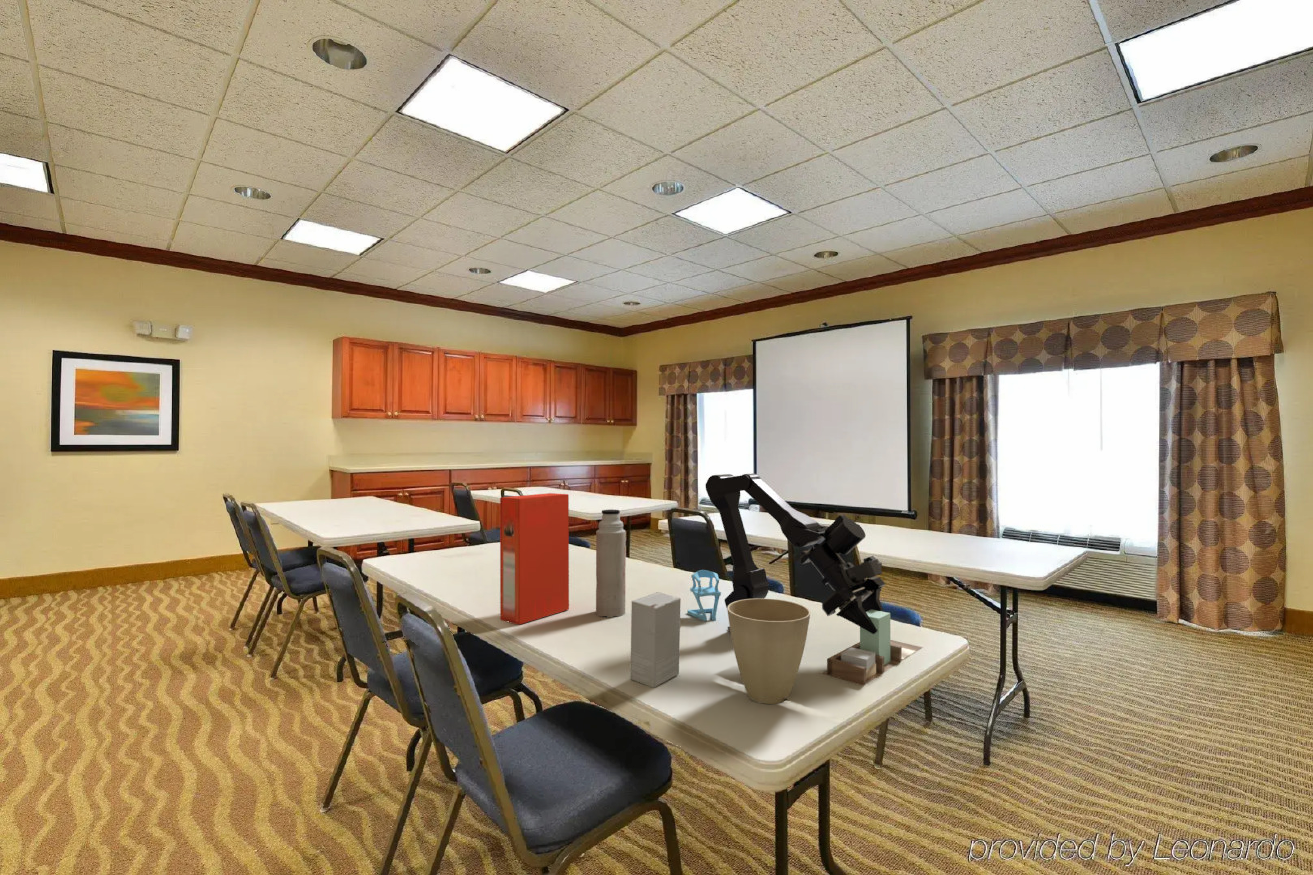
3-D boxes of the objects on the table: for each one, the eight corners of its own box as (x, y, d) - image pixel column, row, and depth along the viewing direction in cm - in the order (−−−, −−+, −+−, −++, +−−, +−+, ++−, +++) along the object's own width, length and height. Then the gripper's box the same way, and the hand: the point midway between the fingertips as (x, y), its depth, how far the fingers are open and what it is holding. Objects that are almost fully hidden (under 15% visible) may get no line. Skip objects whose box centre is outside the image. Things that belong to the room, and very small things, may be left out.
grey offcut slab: (866, 670, 115) (866, 659, 115) (841, 664, 118) (841, 653, 118) (875, 662, 119) (875, 652, 119) (850, 657, 122) (850, 647, 122)
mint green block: (878, 668, 121) (878, 618, 121) (860, 663, 124) (860, 614, 124) (890, 661, 125) (890, 613, 125) (871, 656, 128) (871, 609, 128)
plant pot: (713, 701, 108) (713, 612, 108) (746, 674, 120) (746, 594, 121) (794, 722, 100) (794, 625, 100) (820, 690, 113) (820, 605, 113)
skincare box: (655, 667, 124) (655, 590, 124) (683, 676, 119) (683, 596, 120) (627, 680, 117) (627, 598, 118) (655, 689, 113) (656, 604, 113)
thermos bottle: (626, 609, 168) (626, 508, 168) (624, 617, 160) (624, 511, 160) (597, 608, 168) (598, 508, 168) (594, 617, 160) (594, 511, 160)
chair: (696, 622, 156) (696, 575, 156) (686, 613, 164) (687, 569, 164) (724, 620, 158) (724, 574, 158) (713, 611, 166) (714, 567, 166)
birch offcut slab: (864, 680, 115) (864, 670, 115) (840, 673, 118) (840, 663, 118) (876, 673, 118) (876, 663, 118) (852, 666, 122) (852, 656, 122)
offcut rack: (863, 690, 113) (863, 669, 113) (821, 678, 119) (821, 657, 119) (922, 651, 134) (922, 633, 134) (885, 642, 140) (885, 625, 140)
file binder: (499, 619, 157) (500, 497, 158) (548, 605, 171) (549, 492, 172) (520, 625, 153) (520, 498, 153) (568, 610, 166) (569, 494, 167)
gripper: (835, 550, 121) (890, 616, 113) (876, 539, 134) (927, 598, 126) (801, 583, 126) (850, 648, 118) (843, 569, 140) (890, 628, 132)
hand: (881, 629), depth 124 cm, fingers closed on mint green block, 5 cm apart
